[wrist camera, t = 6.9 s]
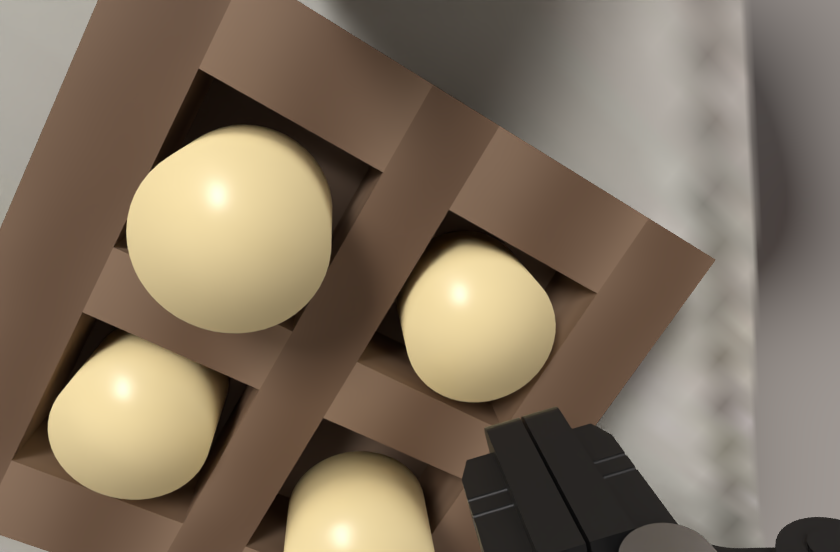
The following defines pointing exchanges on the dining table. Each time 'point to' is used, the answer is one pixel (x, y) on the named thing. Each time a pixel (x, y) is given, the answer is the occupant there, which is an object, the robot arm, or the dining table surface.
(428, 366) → the button
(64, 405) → the button
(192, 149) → the button
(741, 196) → the dining table surface
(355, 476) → the button
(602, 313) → the button board
